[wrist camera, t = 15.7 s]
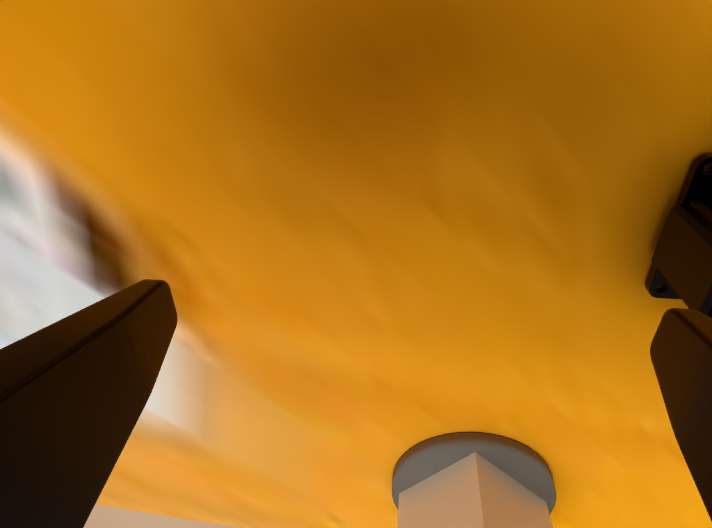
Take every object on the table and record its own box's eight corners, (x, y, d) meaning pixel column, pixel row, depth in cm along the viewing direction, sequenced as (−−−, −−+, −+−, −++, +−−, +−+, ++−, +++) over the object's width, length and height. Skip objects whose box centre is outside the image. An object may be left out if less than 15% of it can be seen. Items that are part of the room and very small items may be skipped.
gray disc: (568, 440, 28) (573, 455, 27) (535, 533, 33) (538, 548, 32) (395, 425, 28) (394, 439, 28) (390, 518, 34) (389, 532, 33)
